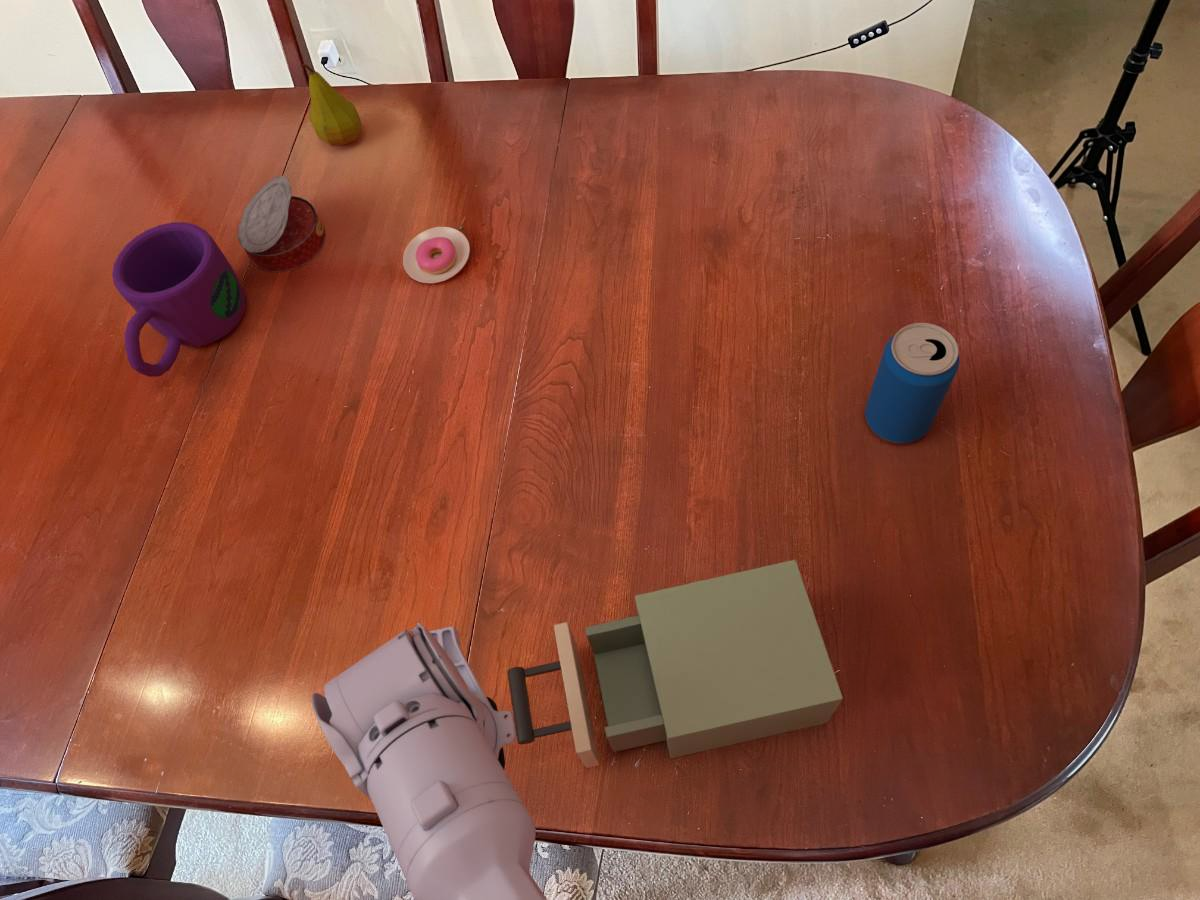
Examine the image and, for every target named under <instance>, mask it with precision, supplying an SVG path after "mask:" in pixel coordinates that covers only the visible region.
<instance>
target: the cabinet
mask: <svg viewBox="0 0 1200 900" xmlns="http://www.w3.org/2000/svg"><path fill="white" fill-rule="evenodd" d="M801 574H802V573H801V571H800V568H799V565H798V563H797V560H796V559H792V560H787V561H782V562H778V563H773V564H769V565H765V566H760V567H756V568H752V569H747V570H743V571H738V572H733V573H729V574H725V575H720V576H716V577H712V578H708V579H707V578H706V579H702V580H698V581H693V582H689V583H685V584H680V585H676V586H671V587H667V588H662V589H657V590H653V591H649V592H645V593H644V592H643V593H640V594H637V595H634V600H635V605H636V613H637V615H639V618H640V622H641V626H642V631H643V635H644V639H645V644H646V648H647V652H648V657H649V661H650V665H651V670H652V674H653V678H654V683H655V687H656V691H657V696H658V700H659V704H660V709H661V713H662V717H663V722H664V726H665V730H666V737H667V740H665V741H666V745H667V746H666V747H667V750H668V754H669V758H670V759H675V758H679V757H683V756H688V755H689V756H690V755H693V754H698V753H701V752H705V751H710V750H714V749H719V748H723V747H729V746H732V745H737V744H741V743H746V742H750V741H753V740H759V739H763V738H769V737H772V736H776V735H780V734H784V733H790V732H793V731H798V730H802V729H807V728H811V727H815V726H820V725H824V724H828V723H829V721H830V720H831V718H832V716H833V715H834V713H835V712H836V710H838V709H837V708H838V707H839V705H840V704H841V703H842V701H843V699H844V698H843V694H842V692H841V689H840V685H839V683H838V679H837V676H836V674H835V671H834V668H833V665H832V662H831V660H830V659H831V658H830V656H829V654H828V650H827V646H826V643H825V642H824V639H823V635H822V632H821V629H820V627H819V624H818V621H817V618H816V615H815V612H814V609H813V606H812V604H811V600H810V598H809V595H808V592H807V589H806V586H805V583H804V581H803V577H802V575H801Z"/></svg>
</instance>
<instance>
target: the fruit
mask: <svg viewBox="0 0 1200 900" xmlns="http://www.w3.org/2000/svg"><path fill="white" fill-rule="evenodd" d="M302 66H303V67H305V68H306V69H307V70H308V71H309V73H310V74H309V77H308V78H309V79H308V90H309V94H310V110H309V121H310V123H311V126H312V127H313V130H314V132H315V134H316V136H317V137H318V139H320V140H321V141H323V142H324V143H326V144H328V145H330V146H331V147H334V146H335V147H336V146H342V145H343V146H344V145H348V144H351V143H353V142H354V141H355V140H356V139H357V137H358V136H359V134H360V132H361V131H362V120H361V117H360V115H359V113H358V109H357V108H356V106H355V104H354V103H353V102H352V101H350V100H348V99H347V98H345V97H344V96H343V95H342V94H341V93H339V92H338V91H337V90H336V89H335V88H334V87H333V86H332V85H331V84H330V83H329V82H328V81H327V80H326V79H325V78H324V76H322V75H321V73H320V72H318V71H317V70H313V69H312V68H311V67H310V66H309V65H307V64H306V63H302Z"/></svg>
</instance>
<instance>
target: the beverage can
mask: <svg viewBox="0 0 1200 900" xmlns="http://www.w3.org/2000/svg"><path fill="white" fill-rule="evenodd" d="M959 353H960V352H959V346H958V343H957V341H956V339H955V337H954V336H953V335H952V333H950V332H949V331H948V330H946V329H944V328H943V327H942V326H939V325H936V324H933V323H930V322H928V323H927V322H914V323H911V324H907V325H905V326H903V327H901V328H900V329H899V330H898V331H897V332H896V333H895V334H893V335H892V336H891V337H889V340H888V341H887V342H886V345H885V347H884V350H883V353H882V355H881V359H880V361H879V365H878V368H877V370H876V374H875V377H874V379H873V382H872V385H871V389H870V392H869V395H868V397H867V401H866V404H865V408H864V417H865V420H866V423H867V425H868V427H869V428H870V429H871V431H872V432H873V433H874V434H875V435H877V436H878V437H880V438H881V439H883V440H885V441H888V442H891V443H895V444H909V443H913V442H916V441H918V440H920V439H921V438H923V437H925V436H926V435H927V434H928V432H929V431H930V429H931V427H932V426H933V423H934V421H935V418H936V417H937V415H938V412H939V411H940V409H941V407H942V404H943V402H944V400H945V398H946V395H947V393H948V391H949V389H950V387H951V385H952V383H953V380H954V379H955V376H956V374H957V372H958V369H959V367H960V354H959Z"/></svg>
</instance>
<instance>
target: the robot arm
mask: <svg viewBox="0 0 1200 900" xmlns="http://www.w3.org/2000/svg"><path fill="white" fill-rule="evenodd" d="M460 636H461V635H460V632H459V631H458V629H456V628H455V626H453V625H451V626H447V627H442V628H438V629H433V630H428V629H427V628H426V627H424V626H423V625H422V624H421V623H420V622H419V621H417V622H416V626H415V627H413V628H412V629H410V631H409V630H408V629H404V630H402V631H401V632H399V633H398V634H396V635H395V636H393V637H392V638H390V639H389V640H388V641H386V642H385V643H383V644H382V645H380V646H379V647H377V648H375V649H374V650H373V651H371V652H370V653H368V654H367V655H365V656H364V657H363V658H361V659H359V660H358V661H357V662H355V663H354V664H352V665H351V666H349V667H348V668H346V669H344V670H343V671H342V672H340V673H339V674H337V675H336V676H334V677H333V678H331V679H329V681H327V682H326V683H324V685H323V692H324V693H323V694H324V695H323V694H321V693H318V692H314V693H313V694H311V699H310V701H311V705H312V710H313V713H314V715H315V717H316V720H317V722H318V724H319V727H320V729H321V731H322V733H323V735H324V737H325V739H326V741H327V743H328V745H329V746H330V748H331V750H332V752H333V753H334V754H335V756H336V757H337V758H338V760H339V761H340V763H341V764H342V765H343V767H344V768H345V770H346V772H347V774H348V776H349V779H350V780H351V781H352V783H353V785H354V787H355V788H356V789H357V790H358V791H359V792H361V793H362V794H363V795H364V796H366V797H367V798H368V799H370V801H371V803H372V805H373V807H374V809H375V811H376V814H377V817H378V819H379V821H380V823H381V825H382V827H383V831H384V832H385V835H386V837H387V839H388V841H389V845H390V847H391V848H392V851H393V853H394V855H395V858H396V860H397V862H398V865H399V867H400V870H401V872H402V875H403V877H404V879H405V882H406V883H407V886H408V888H409V891H410V893H411V895H412V898H413V900H548V898H547V897H546V896H545V895H546V894H544V893H543V891H542V889H541V888H540V886H539V885H538V883H537V882H536V881H535V879H534V878H533V876H532V875H531V869H530V868H531V864H532V863H531V862H532V856H533V852H534V847H535V842H536V835H537V834H536V833H537V831H536V830H537V829H536V825H535V821H534V820H533V818H532V817H531V814H530V813H529V811H528V810H527V808H526V806H525V804H524V802H523V800H522V799H521V797H520V795H519V794H518V792H517V790H516V788H515V787H514V785H513V783H512V781H511V780H510V778H509V777H508V775H507V773H506V771H505V767H506V757H505V749H504V747H505V746H508V745H509V746H510V745H512V744H513V743H515V741H516V740H517V736H516V729H515V722H514V715H513V712H511V711H509V710H508V709H507V710H506V709H503V710H498V705H497V703H496V702H495V700H493V699H492V698H491V697H489V696H487V695H486V693H485V692H484V690H483V688H482V686H481V684H480V682H479V680H478V679H477V677H476V674H475V673H474V671H473V670H472V667H471V666H470V663H469V662H468V660H467V658H466V656H465V655H464V652H463V650H462V648H461V637H460Z"/></svg>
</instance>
